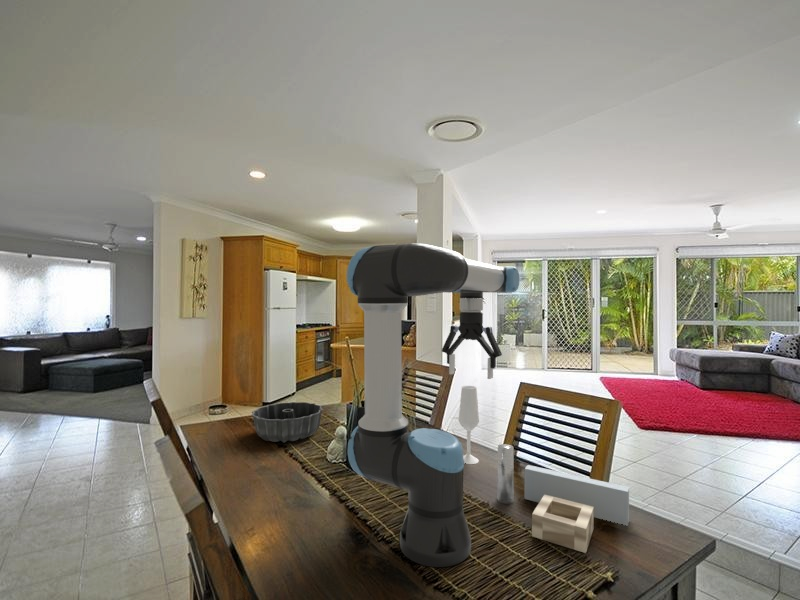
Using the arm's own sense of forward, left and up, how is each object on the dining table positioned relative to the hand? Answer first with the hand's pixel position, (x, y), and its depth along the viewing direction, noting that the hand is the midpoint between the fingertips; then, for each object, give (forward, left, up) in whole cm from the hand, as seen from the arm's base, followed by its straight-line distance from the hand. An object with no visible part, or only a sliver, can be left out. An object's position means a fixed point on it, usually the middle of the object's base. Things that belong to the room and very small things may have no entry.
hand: (470, 376), depth 135 cm
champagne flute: (0, 0, -28) cm, 28 cm away
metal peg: (-20, -19, -28) cm, 39 cm away
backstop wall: (-15, -35, -28) cm, 47 cm away
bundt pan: (-16, +68, -28) cm, 76 cm away
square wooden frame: (-28, -35, -28) cm, 53 cm away
